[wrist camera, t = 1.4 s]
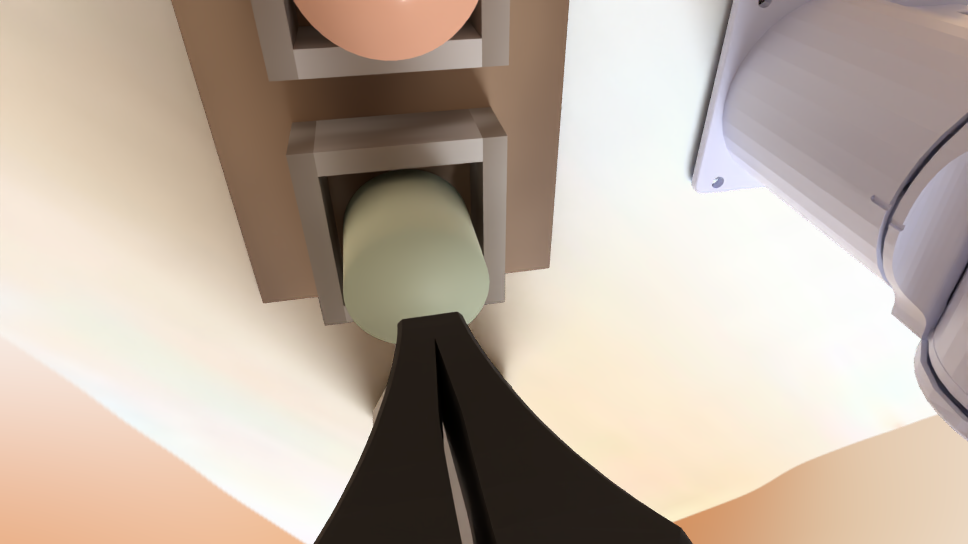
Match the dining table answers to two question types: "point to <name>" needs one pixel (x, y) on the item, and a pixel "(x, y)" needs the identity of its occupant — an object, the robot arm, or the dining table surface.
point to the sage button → (410, 253)
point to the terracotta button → (387, 24)
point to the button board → (378, 132)
